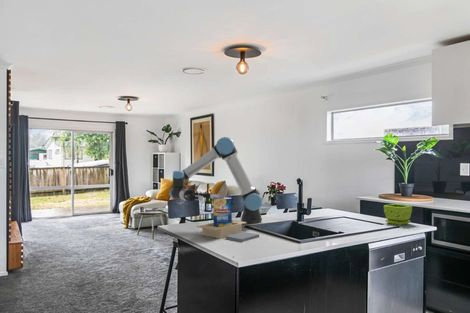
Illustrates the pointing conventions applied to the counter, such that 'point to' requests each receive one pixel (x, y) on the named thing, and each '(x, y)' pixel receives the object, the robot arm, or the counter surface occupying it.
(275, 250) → the counter surface
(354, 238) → the counter surface
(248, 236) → the mat
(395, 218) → the flower pot
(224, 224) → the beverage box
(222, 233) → the wooden tray
